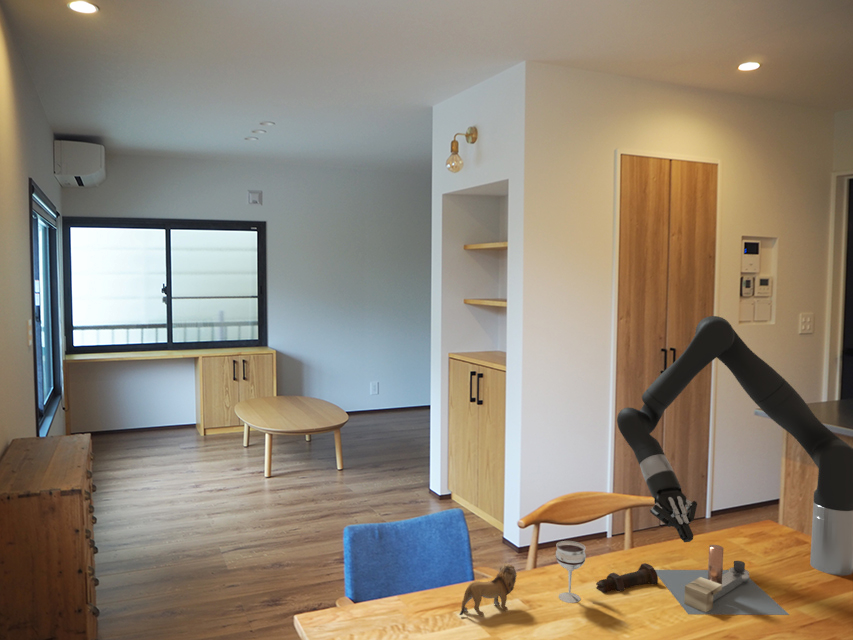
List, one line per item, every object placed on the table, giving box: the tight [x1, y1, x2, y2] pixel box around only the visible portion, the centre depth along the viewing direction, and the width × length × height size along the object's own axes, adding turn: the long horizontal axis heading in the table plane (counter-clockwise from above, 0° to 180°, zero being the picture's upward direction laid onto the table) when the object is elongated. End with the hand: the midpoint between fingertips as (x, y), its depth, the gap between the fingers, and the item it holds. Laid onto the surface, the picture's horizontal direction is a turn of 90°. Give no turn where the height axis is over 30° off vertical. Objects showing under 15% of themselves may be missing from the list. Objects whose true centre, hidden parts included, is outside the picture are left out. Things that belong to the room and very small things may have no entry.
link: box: [707, 544, 750, 601], centre depth 158 cm, size 18×4×11 cm, turn 130°
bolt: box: [595, 562, 659, 594], centre depth 160 cm, size 6×5×15 cm
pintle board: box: [655, 560, 790, 616], centre depth 157 cm, size 22×22×6 cm
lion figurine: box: [459, 563, 517, 616], centre depth 149 cm, size 15×5×9 cm, turn 121°
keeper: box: [684, 577, 722, 612], centre depth 151 cm, size 7×5×4 cm
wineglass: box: [555, 540, 587, 604], centre depth 155 cm, size 7×7×12 cm
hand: (688, 540), depth 164 cm, fingers closed
